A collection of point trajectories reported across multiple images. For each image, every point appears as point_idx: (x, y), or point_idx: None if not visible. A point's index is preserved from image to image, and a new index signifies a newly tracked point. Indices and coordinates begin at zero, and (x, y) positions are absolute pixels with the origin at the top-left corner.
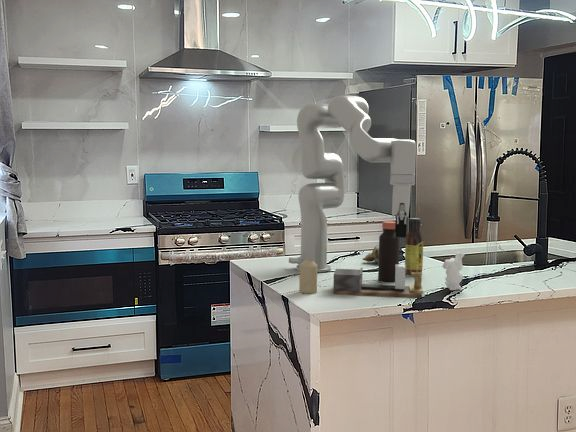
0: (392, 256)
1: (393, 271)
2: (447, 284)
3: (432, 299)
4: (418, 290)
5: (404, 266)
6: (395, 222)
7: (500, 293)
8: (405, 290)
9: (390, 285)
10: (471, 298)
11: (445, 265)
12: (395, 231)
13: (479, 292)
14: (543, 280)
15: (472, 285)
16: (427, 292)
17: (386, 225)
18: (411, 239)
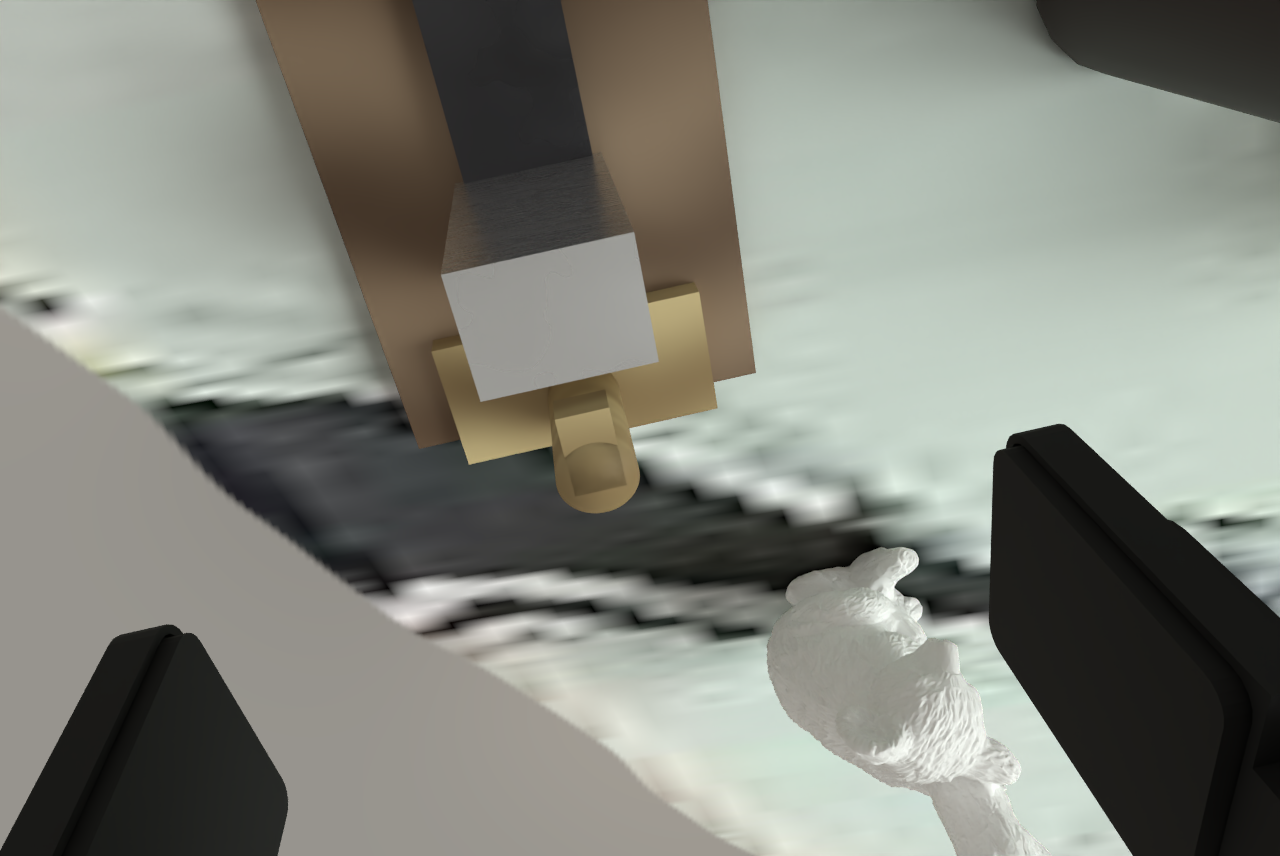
0: (1253, 57)
1: (1113, 46)
2: (874, 567)
3: (412, 517)
4: (470, 423)
5: (531, 379)
6: (1209, 615)
7: (801, 827)
8: None
9: (574, 104)
10: (582, 726)
11: (886, 693)
12: (1016, 443)
13: (792, 735)
14: None
15: None
16: (661, 437)
17: None
18: None
